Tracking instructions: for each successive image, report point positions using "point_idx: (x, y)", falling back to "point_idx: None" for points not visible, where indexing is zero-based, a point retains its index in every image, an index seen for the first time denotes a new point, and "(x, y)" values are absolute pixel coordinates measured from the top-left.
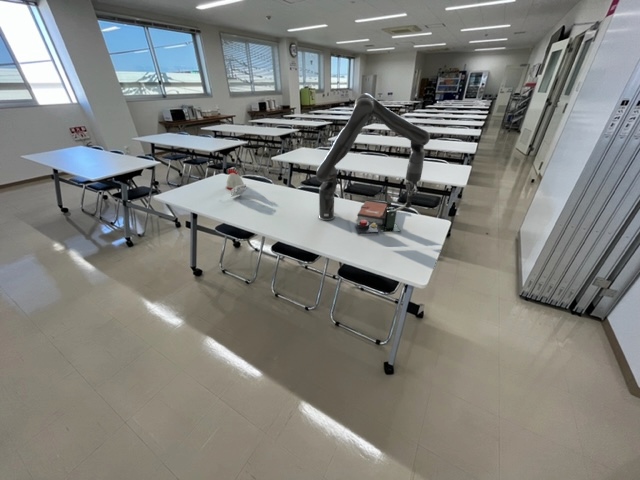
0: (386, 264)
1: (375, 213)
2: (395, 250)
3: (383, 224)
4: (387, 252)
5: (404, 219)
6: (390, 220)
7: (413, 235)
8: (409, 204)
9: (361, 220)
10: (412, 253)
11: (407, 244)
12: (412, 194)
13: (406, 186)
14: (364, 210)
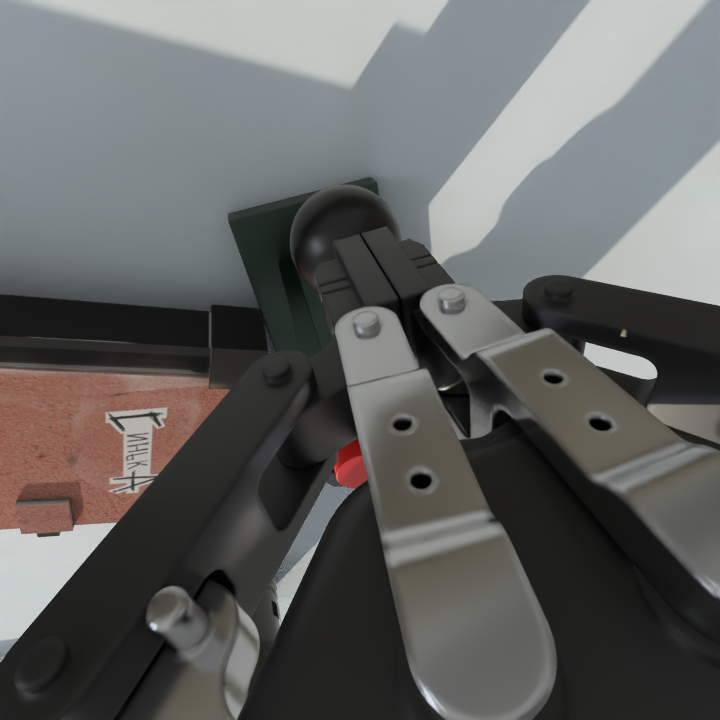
0: (717, 274)
1: (166, 425)
2: (613, 224)
3: (273, 323)
4: (620, 272)
5: (4, 91)
6: None
7: (412, 36)
8: (398, 238)
9: (353, 482)
10: (679, 102)
11: (559, 127)
12: (582, 351)
13: (243, 596)
14: (134, 498)
